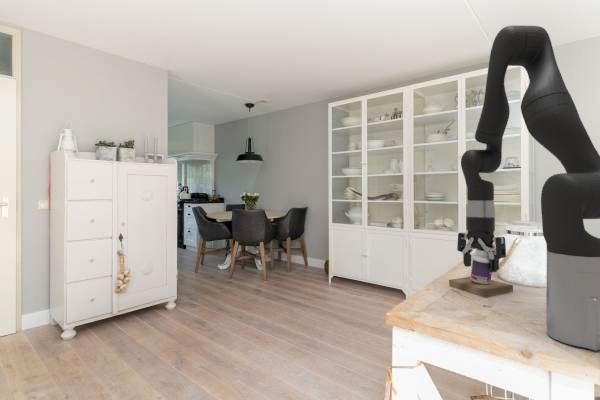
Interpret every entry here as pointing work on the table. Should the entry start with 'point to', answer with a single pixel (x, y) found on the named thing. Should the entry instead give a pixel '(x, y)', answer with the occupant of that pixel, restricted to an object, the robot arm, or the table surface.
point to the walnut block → (481, 287)
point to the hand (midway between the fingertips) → (480, 269)
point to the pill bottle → (481, 267)
